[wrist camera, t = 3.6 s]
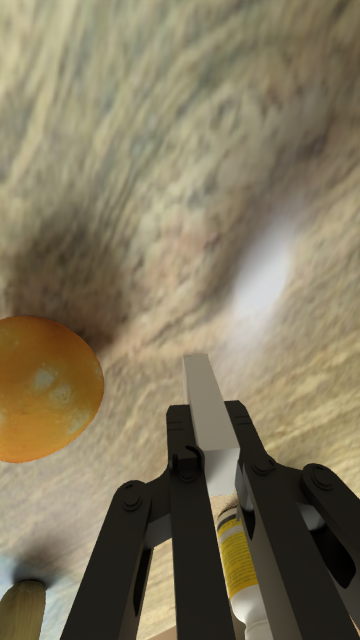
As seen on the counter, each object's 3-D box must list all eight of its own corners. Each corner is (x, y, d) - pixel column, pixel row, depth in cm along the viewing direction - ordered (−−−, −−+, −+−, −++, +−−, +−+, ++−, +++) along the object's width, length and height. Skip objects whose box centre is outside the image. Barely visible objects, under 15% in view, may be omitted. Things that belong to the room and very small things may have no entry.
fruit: (36, 405, 20) (-31, 515, 13) (-32, 321, 17) (-172, 405, 10) (129, 372, 20) (113, 467, 13) (78, 279, 17) (15, 335, 9)
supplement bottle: (206, 526, 29) (228, 664, 20) (233, 499, 28) (269, 637, 19) (242, 535, 31) (277, 667, 22) (269, 511, 29) (319, 643, 20)
